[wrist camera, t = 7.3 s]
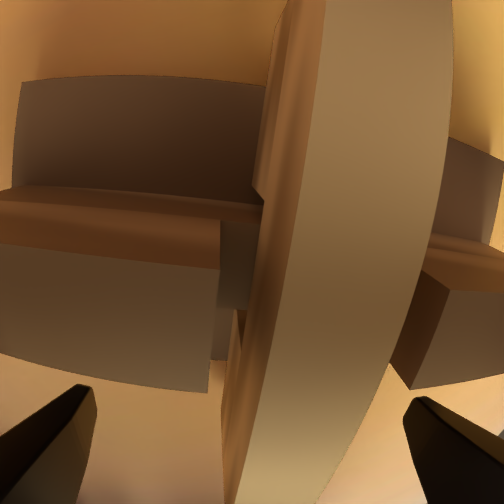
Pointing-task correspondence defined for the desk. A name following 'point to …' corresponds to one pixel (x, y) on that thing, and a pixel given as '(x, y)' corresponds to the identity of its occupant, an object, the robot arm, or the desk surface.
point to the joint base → (197, 237)
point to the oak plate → (333, 233)
